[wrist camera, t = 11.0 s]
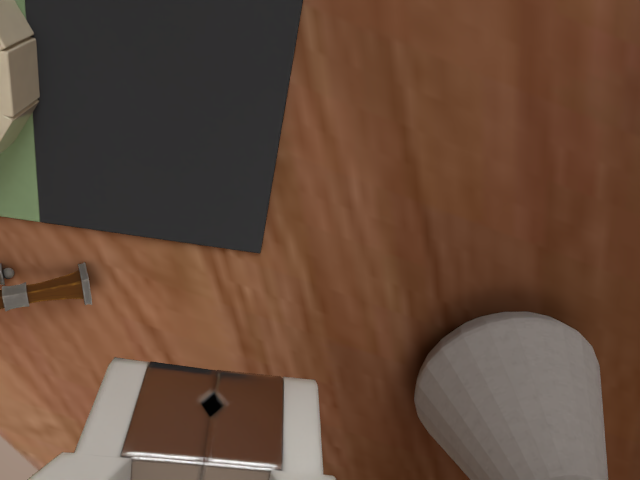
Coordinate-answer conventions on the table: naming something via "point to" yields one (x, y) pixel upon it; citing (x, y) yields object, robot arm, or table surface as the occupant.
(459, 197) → the table surface
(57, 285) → the wooden post with brackets
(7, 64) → the bowl
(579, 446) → the coffee pot
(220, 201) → the desk mat
